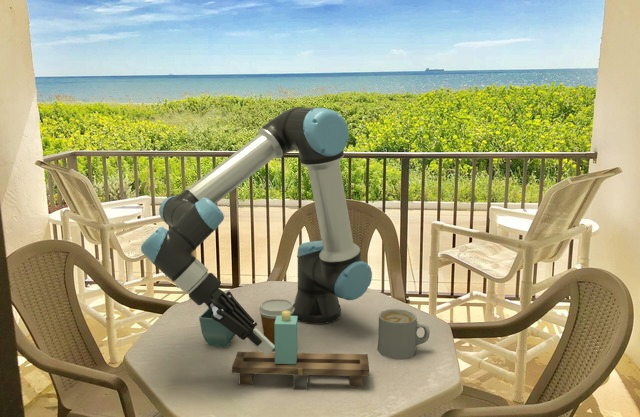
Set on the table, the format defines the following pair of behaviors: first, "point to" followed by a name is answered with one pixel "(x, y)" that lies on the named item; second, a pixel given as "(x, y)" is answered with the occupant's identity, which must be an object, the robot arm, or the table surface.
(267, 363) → the brown flat slatted piece
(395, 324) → the coffee mug
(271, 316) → the disposable coffee cup
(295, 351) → the block
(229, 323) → the robot arm
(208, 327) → the flower pot
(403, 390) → the table surface
